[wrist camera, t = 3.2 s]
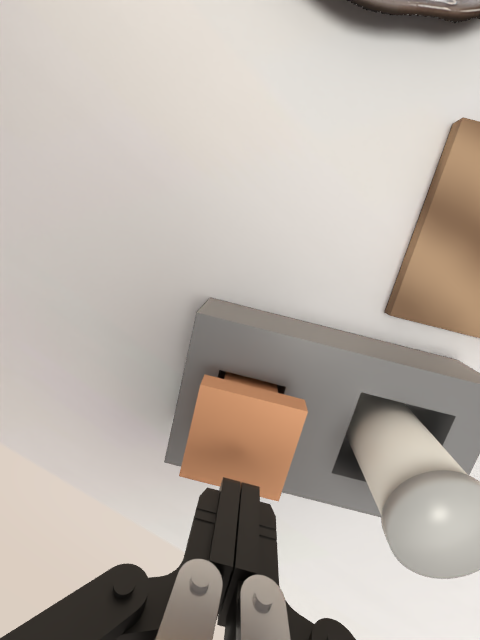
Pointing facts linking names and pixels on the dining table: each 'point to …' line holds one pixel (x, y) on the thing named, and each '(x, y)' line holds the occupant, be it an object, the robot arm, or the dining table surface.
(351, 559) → the dining table surface
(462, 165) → the walnut board
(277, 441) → the orange cube
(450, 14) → the food plate
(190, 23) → the dining table surface
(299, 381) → the grey hollow block
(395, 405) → the cylinder
